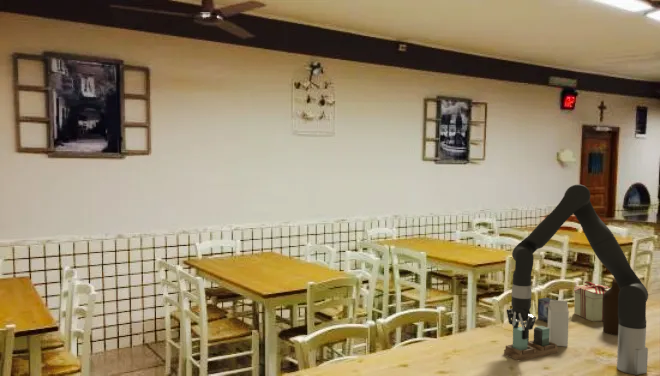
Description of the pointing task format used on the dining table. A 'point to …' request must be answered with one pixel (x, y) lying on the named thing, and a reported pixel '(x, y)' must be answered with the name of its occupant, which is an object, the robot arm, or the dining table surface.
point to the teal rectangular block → (519, 339)
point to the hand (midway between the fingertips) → (520, 337)
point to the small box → (543, 308)
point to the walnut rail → (534, 346)
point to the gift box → (589, 301)
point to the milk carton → (558, 322)
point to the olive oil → (611, 309)
